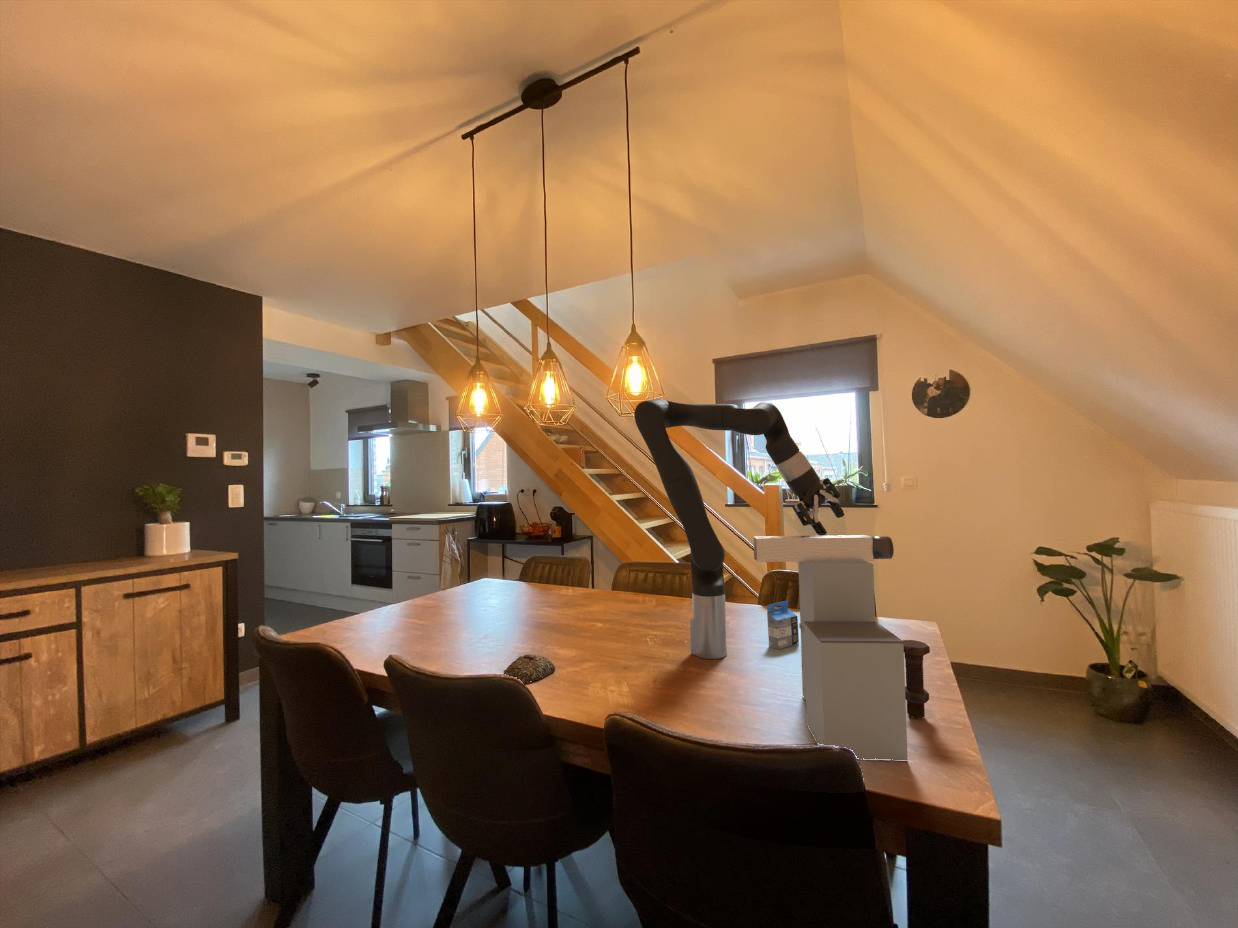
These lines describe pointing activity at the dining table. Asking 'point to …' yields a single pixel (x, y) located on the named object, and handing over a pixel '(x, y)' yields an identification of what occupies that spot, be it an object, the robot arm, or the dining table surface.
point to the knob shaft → (822, 548)
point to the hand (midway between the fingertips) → (832, 525)
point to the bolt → (915, 677)
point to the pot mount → (850, 662)
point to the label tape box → (782, 626)
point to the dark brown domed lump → (530, 668)
